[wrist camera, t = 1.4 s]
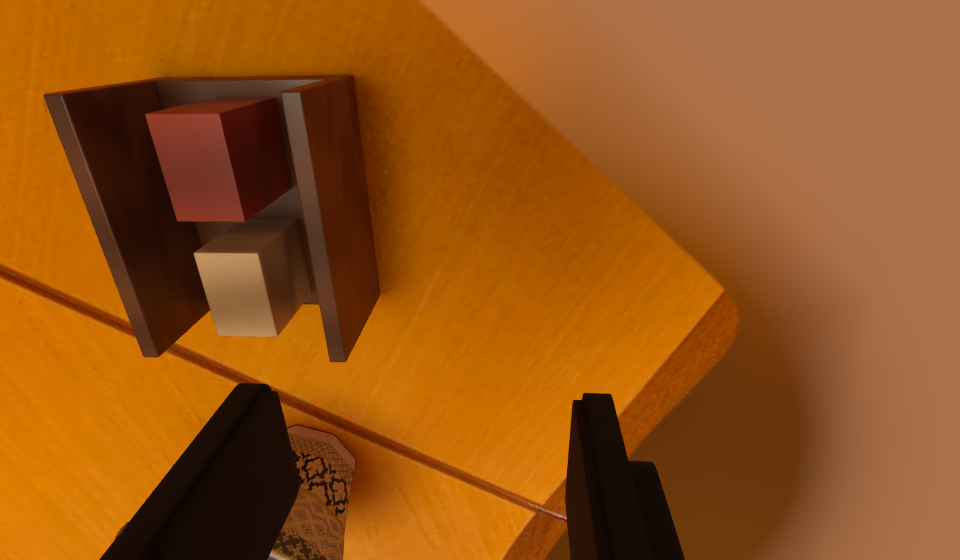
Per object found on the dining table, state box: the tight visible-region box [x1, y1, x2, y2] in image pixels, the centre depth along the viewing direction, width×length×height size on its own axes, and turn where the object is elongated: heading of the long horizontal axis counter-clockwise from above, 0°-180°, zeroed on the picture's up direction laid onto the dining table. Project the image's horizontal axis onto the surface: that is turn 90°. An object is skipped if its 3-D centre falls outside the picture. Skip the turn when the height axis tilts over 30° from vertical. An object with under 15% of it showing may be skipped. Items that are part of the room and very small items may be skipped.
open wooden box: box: [44, 75, 380, 362], centre depth 24 cm, size 12×10×7 cm
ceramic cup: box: [115, 425, 355, 560], centre depth 31 cm, size 13×10×10 cm
